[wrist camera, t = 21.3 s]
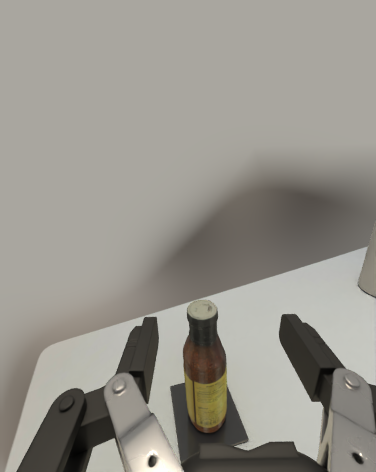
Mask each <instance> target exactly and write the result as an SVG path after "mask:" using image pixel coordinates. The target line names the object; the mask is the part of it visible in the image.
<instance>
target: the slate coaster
mask: <svg viewBox="0 0 376 472" xmlns="http://www.w3.org/2000/svg"><path fill="white" fill-rule="evenodd" d="M170 388H171V395H172V403H173V410H174V417H175V424H176V432H177V439H178V446H179V454H180V461H181V464H182V463H183V462H184V461H185V460H186V459H187V458H189V457H190V456H192V455H193V454H195V453H198V452H199V443H224V444H227V445H231V446H235V445H238V444H240V443H243V442H246V441H248V436H247V434H246V431H245V429H244V426H243V424H242V421H241V419H240V416H239V414H238V411H237V409H236V406H235V404H234V402H233V399H232V397H231V394H230V392H229V389H228V387H227V410H226V414H225V415H226V417H225V421H224V423H223V424H222V426H221V427H220V428H219V429H218V430H217V431H215V432H213V433H204V432H201V431H199V430H198V429H197V428H196V427H195V426H194V424H193V423H192V421H191V419H190V416H189V414H188V408H187V398H186V387H185V383H182V384H178V385H174V386H170Z"/></svg>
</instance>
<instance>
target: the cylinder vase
mask: <svg viewBox="0 0 376 472" xmlns="http://www.w3.org/2000/svg"><path fill="white" fill-rule="evenodd" d="M358 285H359V286H360V288H361V289H362V290H364V291H365V292H367V293H368V294H370V295H372V296H374V297H376V221H375V225H374V228H373V232H372V235H371V239H370V242H369V246H368V249H367V253H366V256H365V260H364V263H363V267H362V270H361V274H360V277H359V281H358Z"/></svg>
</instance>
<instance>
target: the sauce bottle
mask: <svg viewBox="0 0 376 472" xmlns="http://www.w3.org/2000/svg"><path fill="white" fill-rule="evenodd" d="M187 319H188V321H189V328H190V330H189V335H188V337H187V339H186V342H185V345H184V348H183V359H184V376H185V387H186V398H187V408H188V414H189V416H190V419H191V421H192V423H193V424H194V426H195V427H196V428H197V429H198V430H199V431H201V432H204V433H213V432H215V431H217V430H218V429H219V428H220V427H221V426H222V424H223V423H224V421H225V417H226V415H225V414H226V410H227V370H226V354H225V351H224V348H223V346H222V343H221V341H220V339H219V336H218V334H217V319H218V311H217V307H216V306H215V304H214V303H212V302H211V301H208V300H198V301H194V302H192V303H191V304H190V305H189V306H188V308H187Z"/></svg>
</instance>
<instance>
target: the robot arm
mask: <svg viewBox="0 0 376 472" xmlns="http://www.w3.org/2000/svg"><path fill="white" fill-rule="evenodd" d="M279 339H280V342H281V345H282V346H283V348H284V350H285V352H286V354H287V356H288V358H289V360H290V361H291V363H292V365H293V367H294V369H295V371H296V373H297V374H298V376H299V378H300V380H301V382H302V384H303V386H304V388H305V389H306V391H307V393H308V395H309V397H310V399H311V401H312V402H320V401H321V403H322V405H323V407H324V408H323V412H322V422H321V433H320V443H319V452H318V457H317V462H316V461H314V460H313V459H311V458H310V457H308V456H306V455H304V454H302V453H300V452H297V450H296V447H295V445H294V442H269V443H266V444H264V445H261V446H259V447H257V448H254V449H252V450H249V451H247V450H243V449H240V448H237V447H234V446H231V445H227V444H224V443H199V452H198V453H195V454H193V455H192V456H190V457H189V458H187V459H186V460H185V461H184V462H183V463H182V464H181V465H180V463H179V461H178V459H177V457H176V455H175V453H174V451H173V449H172V447H171V445H170V443H169V441H168V439H167V437H166V435H165V433H164V431H163V429H162V427H161V425H160V424H159V422H158V420H157V418H156V416H155V415H154V413H151V412H150V410H149V409H148V406H147V404H148V402H149V396H150V391H151V385H152V379H153V373H154V367H155V361H156V356H157V350H158V342H159V335H158V325H157V317H145V318H144V320H143V324H142V326H136V327H135V328H134V329H133V330H132V331H131V333H130V335H129V338H128V342H127V343H126V346H125V349H124V352H123V355H122V357H121V360H120V363H119V366H118V369H117V371H116V374H115V376H113V377H112V378H111V379H110V380H109V381H108V382H107V384H106V385H105V386H104V387H102V388H100V389H97V390H94V391H91V392H88V393H86V394H84V392H83V391H82V390H81V389H78V388H74V389H70V390H67V391H65V392H64V393H62V394H61V395H60V396H59V397H58V398H57V399H56V400H55V401H54V402H53V404H52V405H51V407H50V409H49V411H48V413H47V415H46V417H45V418H44V420H43V422H42V424H41V426H40V428H39V430H38V432H37V434H36V436H35V437H34V439H33V441H32V443H31V445H30V447H29V449H28V451H27V453H26V454H25V456H24V458H23V460H22V462H21V464H20V466H19V468H18V470H17V471H16V472H86V469H87V466H88V462H89V459H90V456H91V452H92V449H93V447H95V446H97V445H99V444H101V443H104V442H106V441H108V440H111V439H113V438H115V442H116V445H117V448H118V451H119V454H120V458H121V461H122V464H123V467H124V471H125V472H376V386H375V385H371V384H368V383H367V382H366V381H365V380H364V379H363V378H362V377H361V376H359V375H358V374H356V373H355V372H353V371H351V370H348V369H346V368H345V367H344V366H343V364H342V363H341V362H340V361H339V359H338V358H337V357H336V356H335V354H334V353H333V352H332V351H331V349H330V348H329V347H328V345H327V344H325V342H324V340H323V339H322V338H321V337H320V335H319V334H318V333H317V332H316V330H315V329H314V328H312V327H311V326H310V325H308V324H307V323H302V321H301V320H300V319H299V317H298V316H297V315H296V314H283V315H282V317H281V323H280V330H279Z"/></svg>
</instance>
